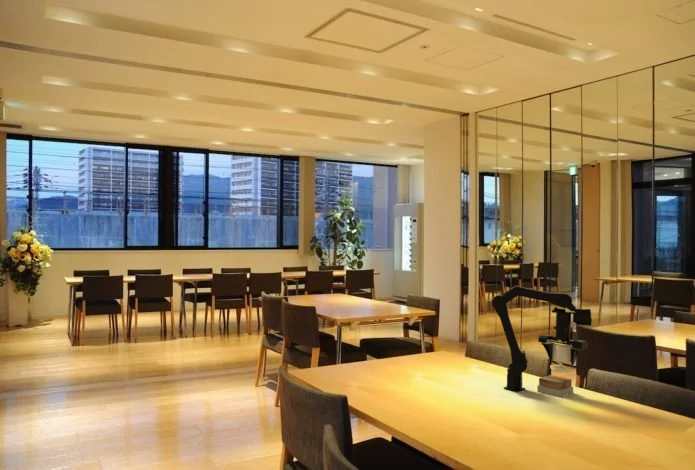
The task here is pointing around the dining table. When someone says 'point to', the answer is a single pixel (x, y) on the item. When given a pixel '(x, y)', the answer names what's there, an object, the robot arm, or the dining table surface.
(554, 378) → the tower top
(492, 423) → the dining table surface
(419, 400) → the dining table surface
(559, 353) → the security camera
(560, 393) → the tower base
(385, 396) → the dining table surface
